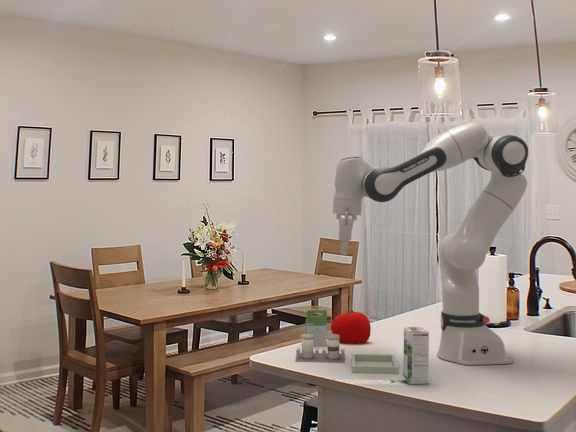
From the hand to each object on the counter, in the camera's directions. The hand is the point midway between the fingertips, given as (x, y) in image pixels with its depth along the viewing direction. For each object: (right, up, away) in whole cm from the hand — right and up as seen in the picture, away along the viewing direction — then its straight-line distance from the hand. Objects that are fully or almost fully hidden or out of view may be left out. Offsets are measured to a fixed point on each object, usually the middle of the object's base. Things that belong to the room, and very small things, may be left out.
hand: (343, 252), depth 178 cm
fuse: (-3, -32, -1) cm, 33 cm away
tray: (+8, -34, -10) cm, 36 cm away
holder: (-7, -34, -1) cm, 34 cm away
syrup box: (+18, -34, -20) cm, 44 cm away
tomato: (+5, -33, +20) cm, 39 cm away
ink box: (-8, -33, +14) cm, 37 cm away
